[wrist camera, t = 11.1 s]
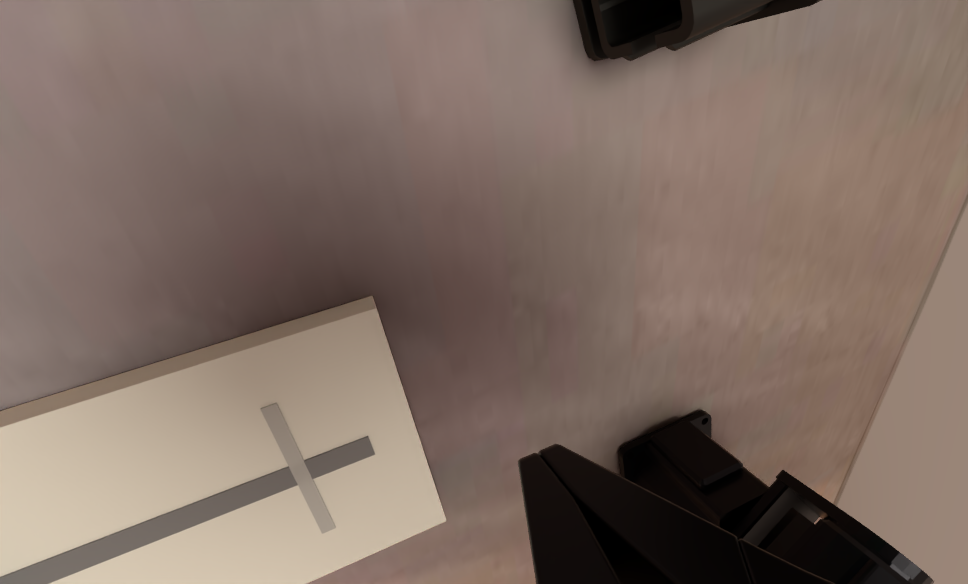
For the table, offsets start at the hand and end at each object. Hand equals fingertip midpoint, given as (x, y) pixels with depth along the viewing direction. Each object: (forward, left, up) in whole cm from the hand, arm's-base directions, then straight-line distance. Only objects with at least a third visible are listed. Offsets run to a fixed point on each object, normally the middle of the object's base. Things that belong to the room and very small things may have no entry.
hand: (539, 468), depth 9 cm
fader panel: (-6, +14, -12) cm, 19 cm away
